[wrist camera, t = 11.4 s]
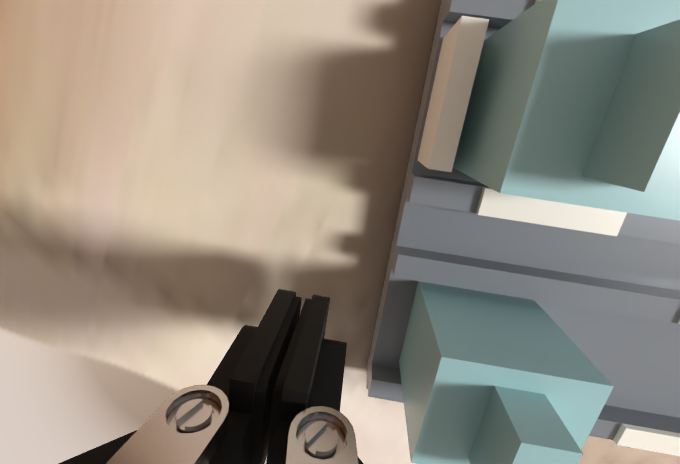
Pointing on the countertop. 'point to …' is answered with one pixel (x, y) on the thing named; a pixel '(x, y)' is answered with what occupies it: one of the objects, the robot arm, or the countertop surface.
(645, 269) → the switch bank
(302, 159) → the countertop surface
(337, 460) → the robot arm
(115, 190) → the countertop surface
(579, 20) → the tab
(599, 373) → the tab
